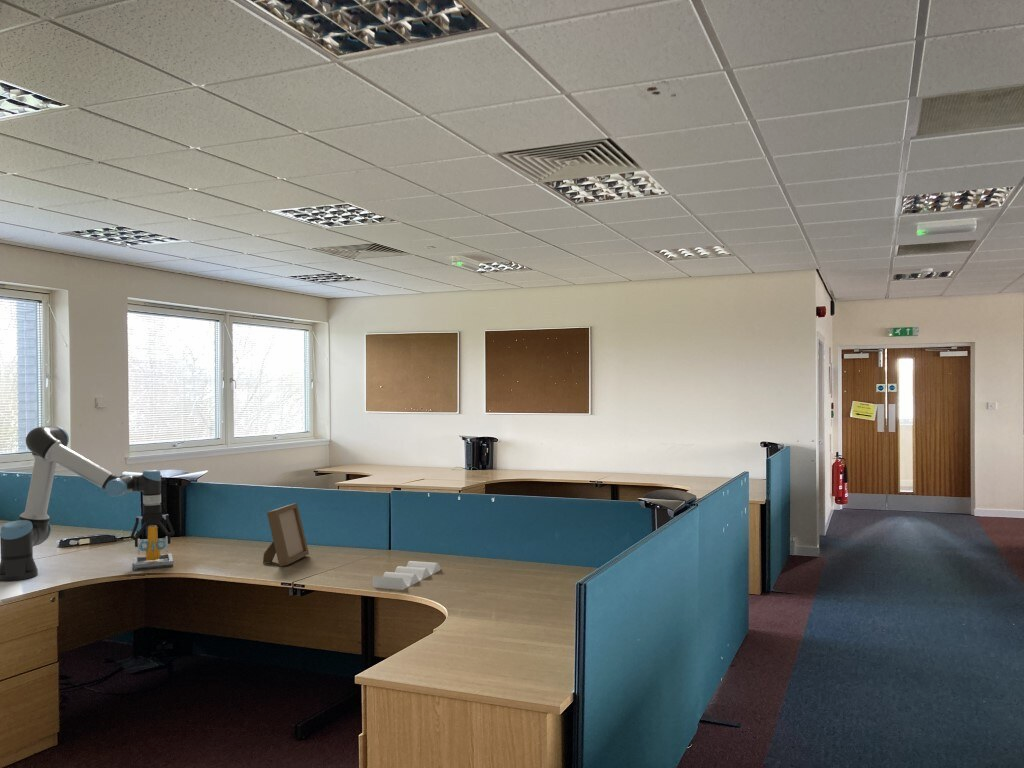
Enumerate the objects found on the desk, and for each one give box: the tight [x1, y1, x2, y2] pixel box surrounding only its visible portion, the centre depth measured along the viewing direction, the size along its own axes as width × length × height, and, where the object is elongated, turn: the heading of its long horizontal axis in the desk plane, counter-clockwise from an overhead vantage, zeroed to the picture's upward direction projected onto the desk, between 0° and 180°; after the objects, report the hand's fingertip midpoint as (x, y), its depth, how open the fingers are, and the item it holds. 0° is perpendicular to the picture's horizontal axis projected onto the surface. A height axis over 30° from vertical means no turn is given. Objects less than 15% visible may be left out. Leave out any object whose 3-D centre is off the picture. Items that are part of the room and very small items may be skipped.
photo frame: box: [262, 502, 310, 567], centre depth 359 cm, size 15×22×25 cm
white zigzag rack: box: [372, 560, 442, 591], centre depth 323 cm, size 13×35×5 cm, turn 160°
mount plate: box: [133, 553, 174, 571], centre depth 357 cm, size 16×18×2 cm
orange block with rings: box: [139, 524, 166, 560], centre depth 357 cm, size 12×10×15 cm
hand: (152, 552), depth 357 cm, fingers closed on orange block with rings, 11 cm apart
